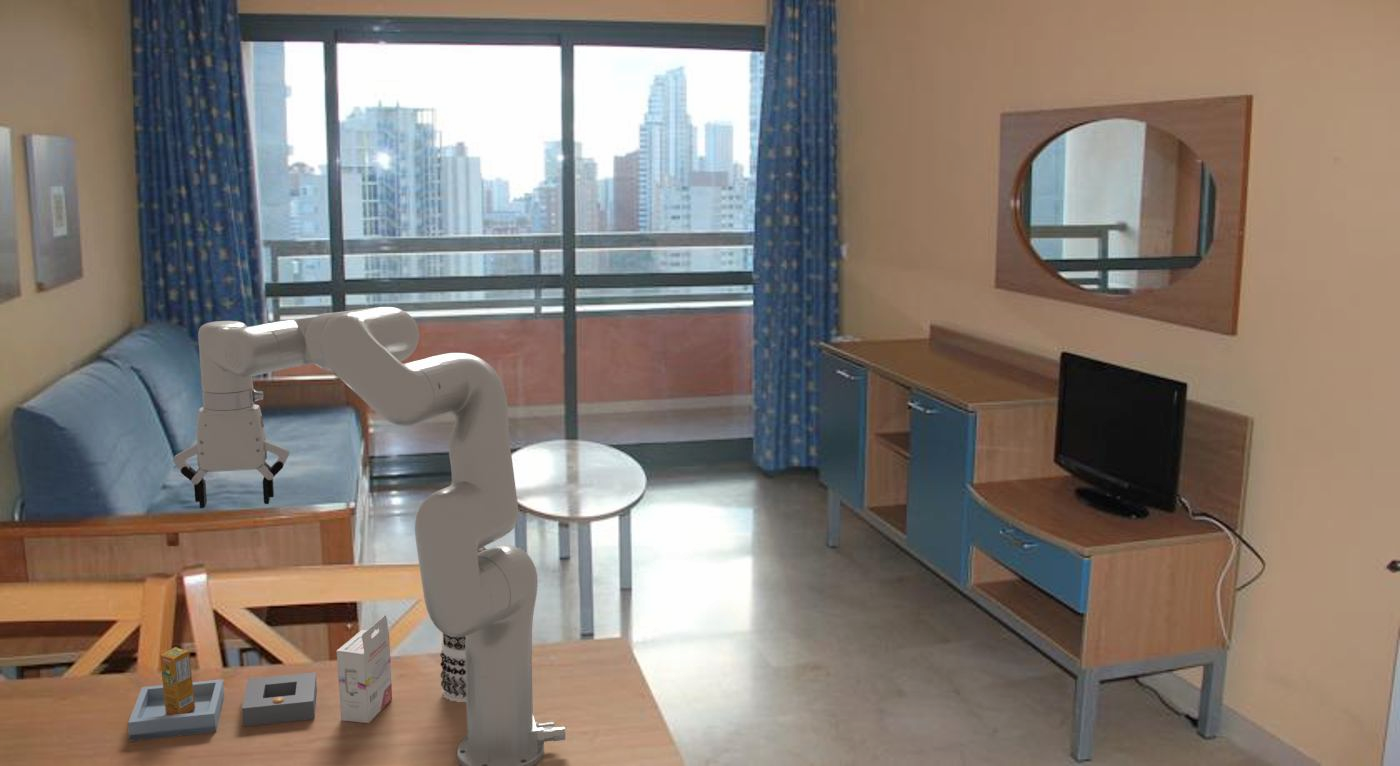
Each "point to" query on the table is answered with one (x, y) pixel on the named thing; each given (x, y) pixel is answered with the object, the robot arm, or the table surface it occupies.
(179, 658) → the supplement box
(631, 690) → the table surface
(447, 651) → the decorative candle
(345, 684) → the ink cartridge box
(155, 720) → the holder and tray
